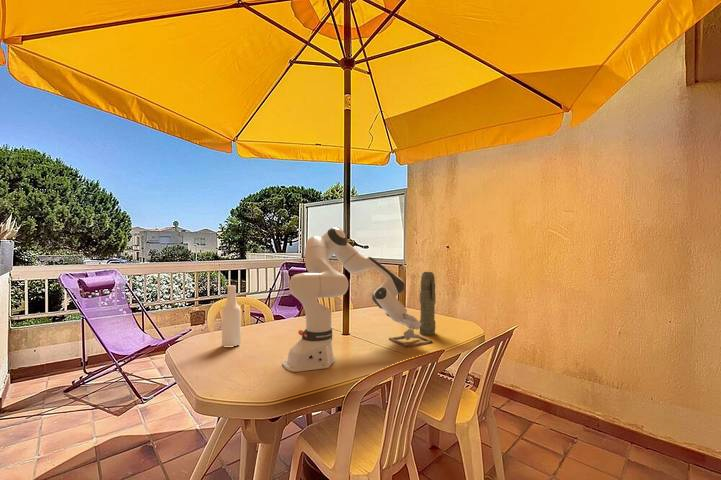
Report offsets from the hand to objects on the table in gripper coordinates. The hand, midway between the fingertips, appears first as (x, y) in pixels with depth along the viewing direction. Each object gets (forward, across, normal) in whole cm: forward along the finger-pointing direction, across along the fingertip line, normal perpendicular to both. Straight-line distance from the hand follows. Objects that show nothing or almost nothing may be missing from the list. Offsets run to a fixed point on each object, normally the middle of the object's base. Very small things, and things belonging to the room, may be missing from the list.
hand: (412, 328), depth 183 cm
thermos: (+16, +6, -6) cm, 19 cm away
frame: (+3, -1, +6) cm, 7 cm away
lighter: (0, 0, +7) cm, 7 cm away
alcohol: (-56, +38, +64) cm, 93 cm away
